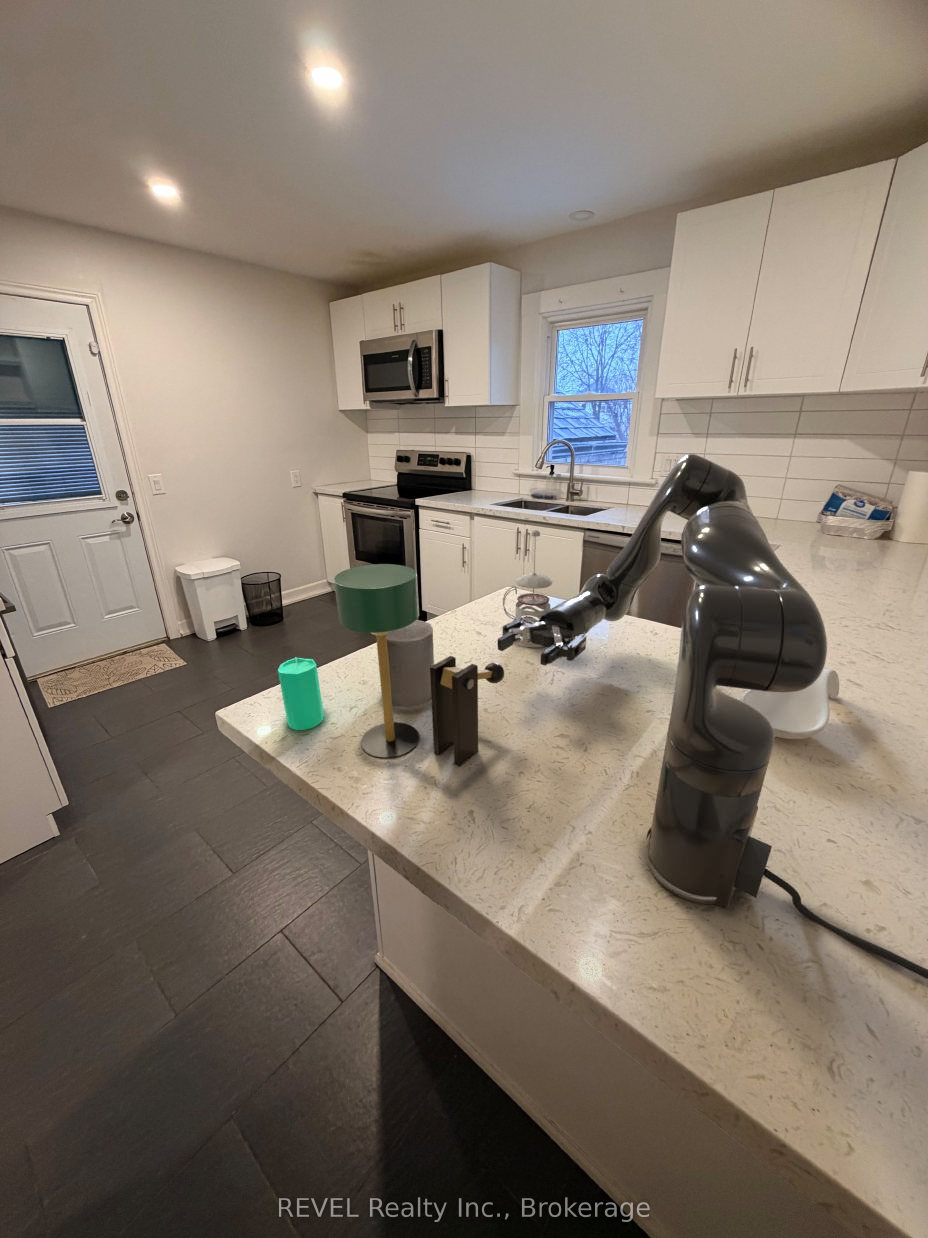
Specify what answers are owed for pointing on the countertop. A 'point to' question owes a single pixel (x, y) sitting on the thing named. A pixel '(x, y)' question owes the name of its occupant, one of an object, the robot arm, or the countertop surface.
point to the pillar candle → (410, 663)
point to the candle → (301, 693)
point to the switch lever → (490, 673)
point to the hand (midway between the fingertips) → (520, 652)
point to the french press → (530, 597)
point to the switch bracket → (455, 711)
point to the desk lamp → (380, 638)
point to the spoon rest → (797, 707)
